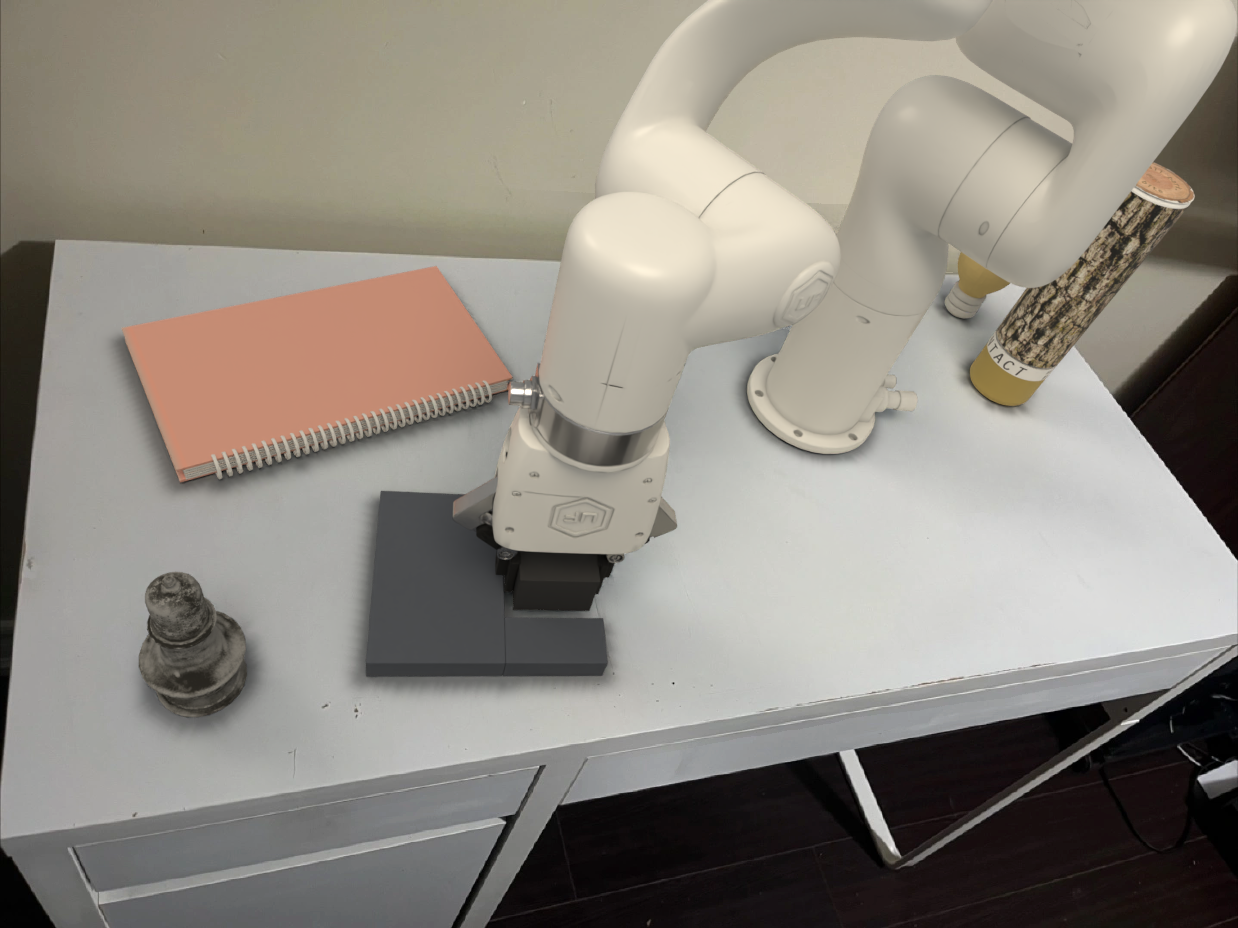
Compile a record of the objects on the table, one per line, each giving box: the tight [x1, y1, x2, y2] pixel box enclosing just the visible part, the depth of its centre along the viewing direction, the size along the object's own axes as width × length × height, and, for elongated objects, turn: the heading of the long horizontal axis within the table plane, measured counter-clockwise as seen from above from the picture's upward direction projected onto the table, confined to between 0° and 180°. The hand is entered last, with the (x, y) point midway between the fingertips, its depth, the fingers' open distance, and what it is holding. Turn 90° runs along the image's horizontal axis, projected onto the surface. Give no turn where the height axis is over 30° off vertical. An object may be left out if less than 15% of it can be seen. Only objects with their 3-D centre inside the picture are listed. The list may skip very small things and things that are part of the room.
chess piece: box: [138, 571, 248, 718], centre depth 50 cm, size 6×6×12 cm
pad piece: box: [511, 551, 600, 612], centre depth 61 cm, size 6×6×4 cm
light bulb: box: [944, 251, 1011, 319], centre depth 95 cm, size 6×6×10 cm
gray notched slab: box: [365, 490, 609, 678], centre depth 62 cm, size 16×14×2 cm
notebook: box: [120, 265, 514, 483], centre depth 72 cm, size 27×17×2 cm, turn 122°
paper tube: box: [969, 162, 1196, 407], centre depth 82 cm, size 7×7×25 cm
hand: (550, 574), depth 62 cm, fingers closed on pad piece, 5 cm apart
